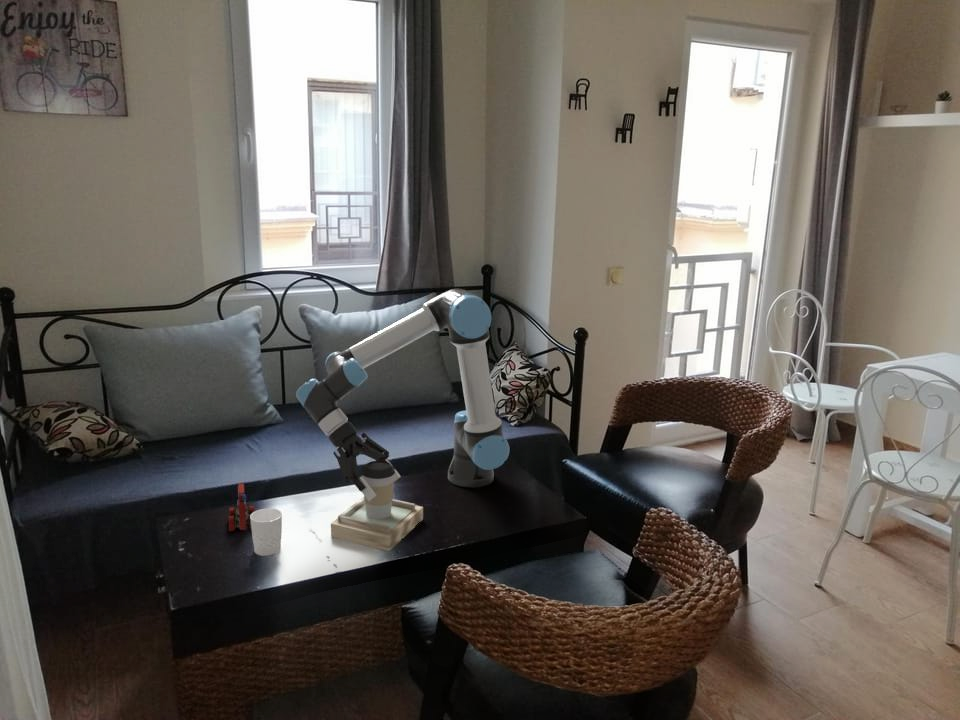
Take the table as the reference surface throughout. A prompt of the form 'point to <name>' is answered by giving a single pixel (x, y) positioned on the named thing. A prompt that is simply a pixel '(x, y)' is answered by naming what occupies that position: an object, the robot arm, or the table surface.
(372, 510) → the coffee cup
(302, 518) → the table surface
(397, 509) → the tray
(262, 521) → the white cup
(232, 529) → the toy fire truck
